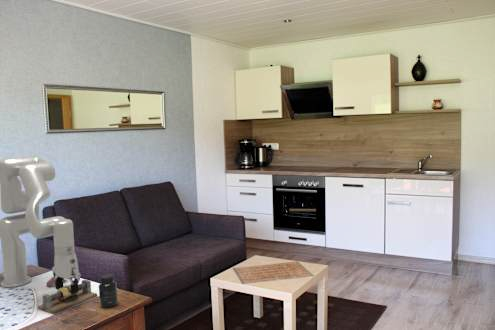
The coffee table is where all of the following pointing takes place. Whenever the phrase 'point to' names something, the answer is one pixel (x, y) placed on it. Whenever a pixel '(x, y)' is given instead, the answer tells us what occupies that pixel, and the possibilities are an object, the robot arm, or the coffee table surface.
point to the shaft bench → (56, 305)
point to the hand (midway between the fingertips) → (67, 290)
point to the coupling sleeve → (66, 292)
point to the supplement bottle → (108, 291)
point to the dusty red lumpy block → (51, 282)
